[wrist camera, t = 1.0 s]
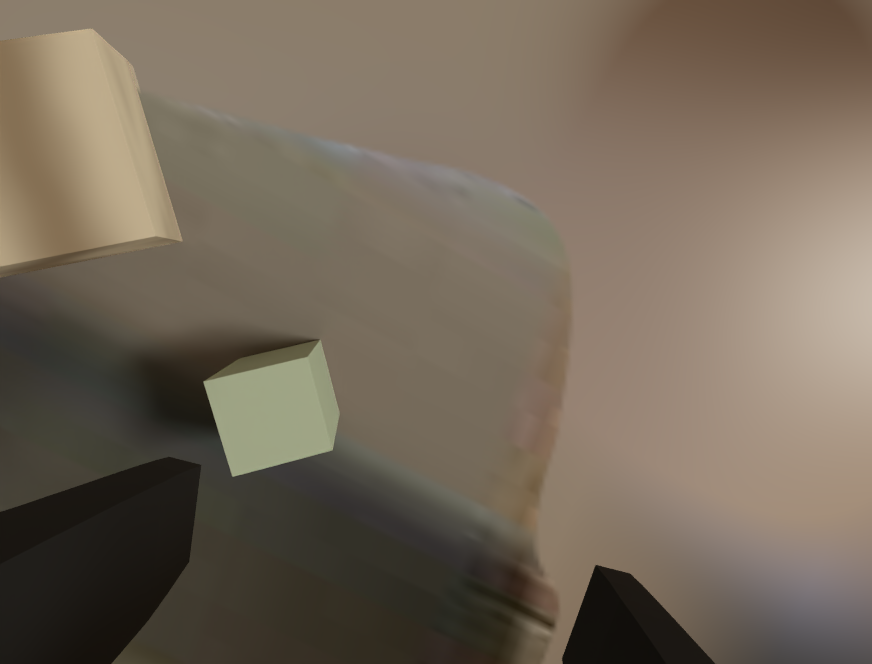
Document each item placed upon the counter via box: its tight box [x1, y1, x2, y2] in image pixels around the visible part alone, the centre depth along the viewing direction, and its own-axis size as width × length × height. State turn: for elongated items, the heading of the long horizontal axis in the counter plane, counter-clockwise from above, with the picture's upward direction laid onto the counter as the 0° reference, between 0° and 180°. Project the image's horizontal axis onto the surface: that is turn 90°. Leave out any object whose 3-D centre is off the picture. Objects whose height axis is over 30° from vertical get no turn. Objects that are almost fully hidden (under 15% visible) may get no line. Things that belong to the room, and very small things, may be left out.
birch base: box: [0, 28, 182, 278], centre depth 18 cm, size 8×8×3 cm
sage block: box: [203, 340, 340, 477], centre depth 20 cm, size 4×4×5 cm
